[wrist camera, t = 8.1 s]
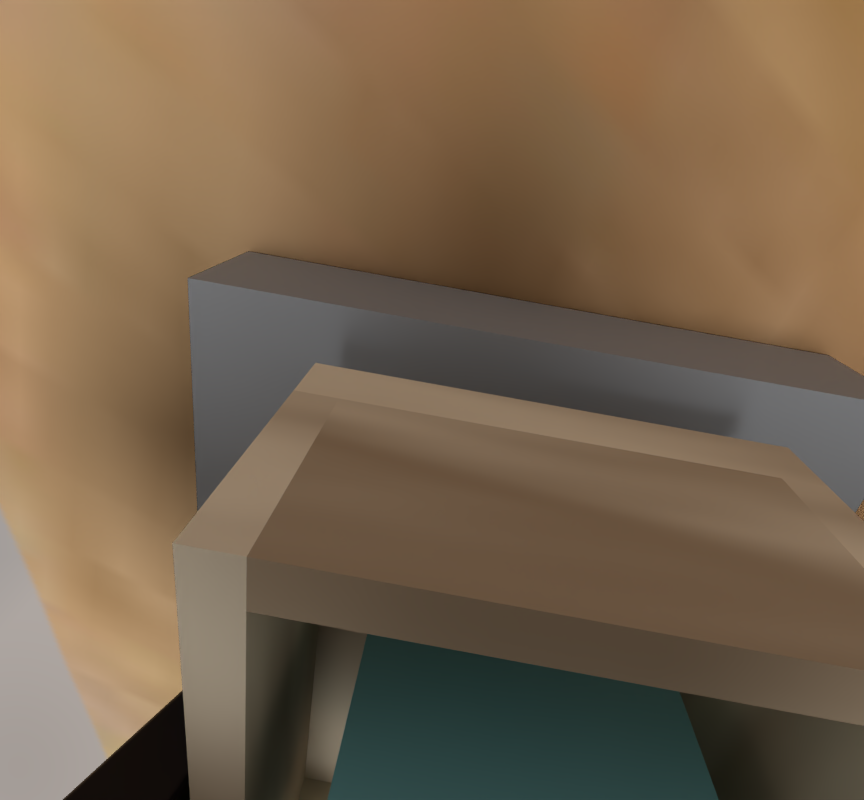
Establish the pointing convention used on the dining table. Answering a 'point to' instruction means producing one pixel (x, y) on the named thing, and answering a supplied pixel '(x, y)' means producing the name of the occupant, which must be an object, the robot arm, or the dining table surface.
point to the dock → (499, 362)
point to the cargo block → (509, 732)
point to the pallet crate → (517, 579)
